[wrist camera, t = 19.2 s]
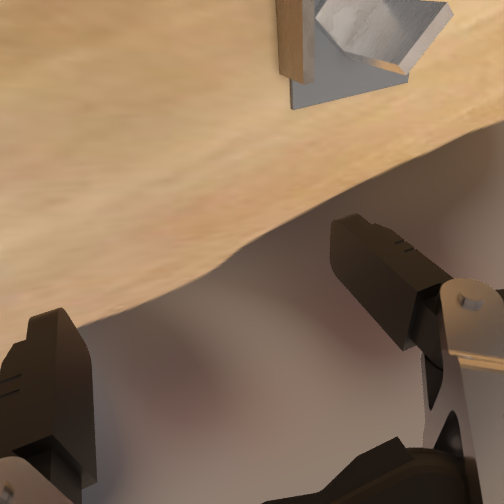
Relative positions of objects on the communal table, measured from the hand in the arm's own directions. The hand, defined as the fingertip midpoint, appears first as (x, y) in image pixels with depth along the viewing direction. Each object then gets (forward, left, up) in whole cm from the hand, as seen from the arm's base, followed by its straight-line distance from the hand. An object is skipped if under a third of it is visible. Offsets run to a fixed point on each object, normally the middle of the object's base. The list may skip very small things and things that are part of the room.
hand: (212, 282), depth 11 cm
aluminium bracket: (-2, +25, -32) cm, 40 cm away
